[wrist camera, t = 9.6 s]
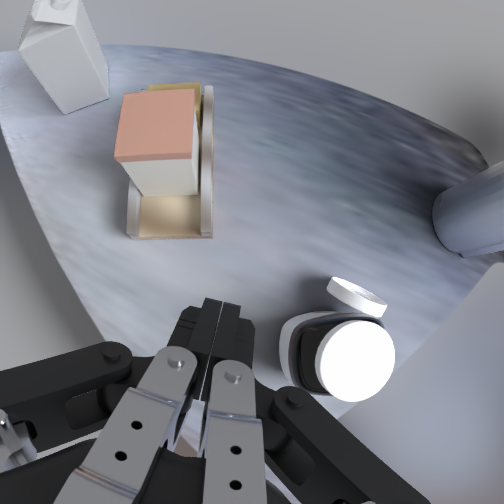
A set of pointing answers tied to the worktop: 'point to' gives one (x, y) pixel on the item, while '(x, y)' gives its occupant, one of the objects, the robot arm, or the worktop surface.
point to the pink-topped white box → (159, 142)
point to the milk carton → (65, 54)
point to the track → (186, 206)
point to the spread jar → (339, 347)
